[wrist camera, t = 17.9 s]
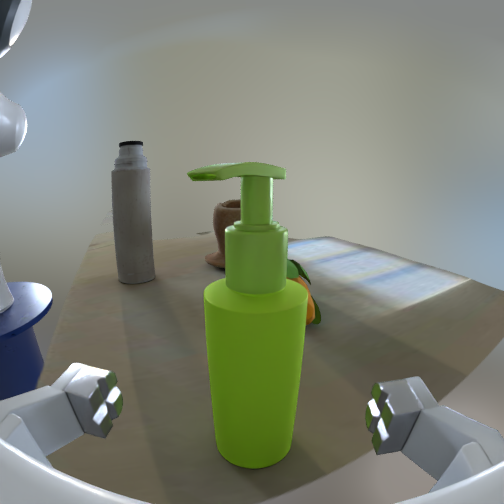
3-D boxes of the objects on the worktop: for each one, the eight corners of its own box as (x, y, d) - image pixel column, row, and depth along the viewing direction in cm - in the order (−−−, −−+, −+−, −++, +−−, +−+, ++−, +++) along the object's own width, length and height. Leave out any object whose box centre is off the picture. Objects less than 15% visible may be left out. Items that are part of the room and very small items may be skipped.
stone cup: (227, 276, 60) (226, 203, 57) (198, 263, 69) (196, 200, 66) (280, 264, 70) (281, 200, 66) (248, 254, 79) (249, 197, 75)
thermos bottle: (126, 271, 62) (120, 145, 56) (159, 272, 63) (154, 142, 56) (113, 283, 54) (105, 141, 48) (149, 284, 55) (143, 137, 48)
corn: (294, 246, 52) (342, 283, 33) (294, 286, 54) (338, 339, 35) (252, 250, 51) (281, 292, 32) (255, 291, 53) (282, 350, 34)
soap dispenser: (191, 450, 18) (160, 165, 14) (247, 407, 24) (248, 168, 19) (252, 489, 15) (255, 155, 10) (304, 434, 20) (331, 167, 15)
